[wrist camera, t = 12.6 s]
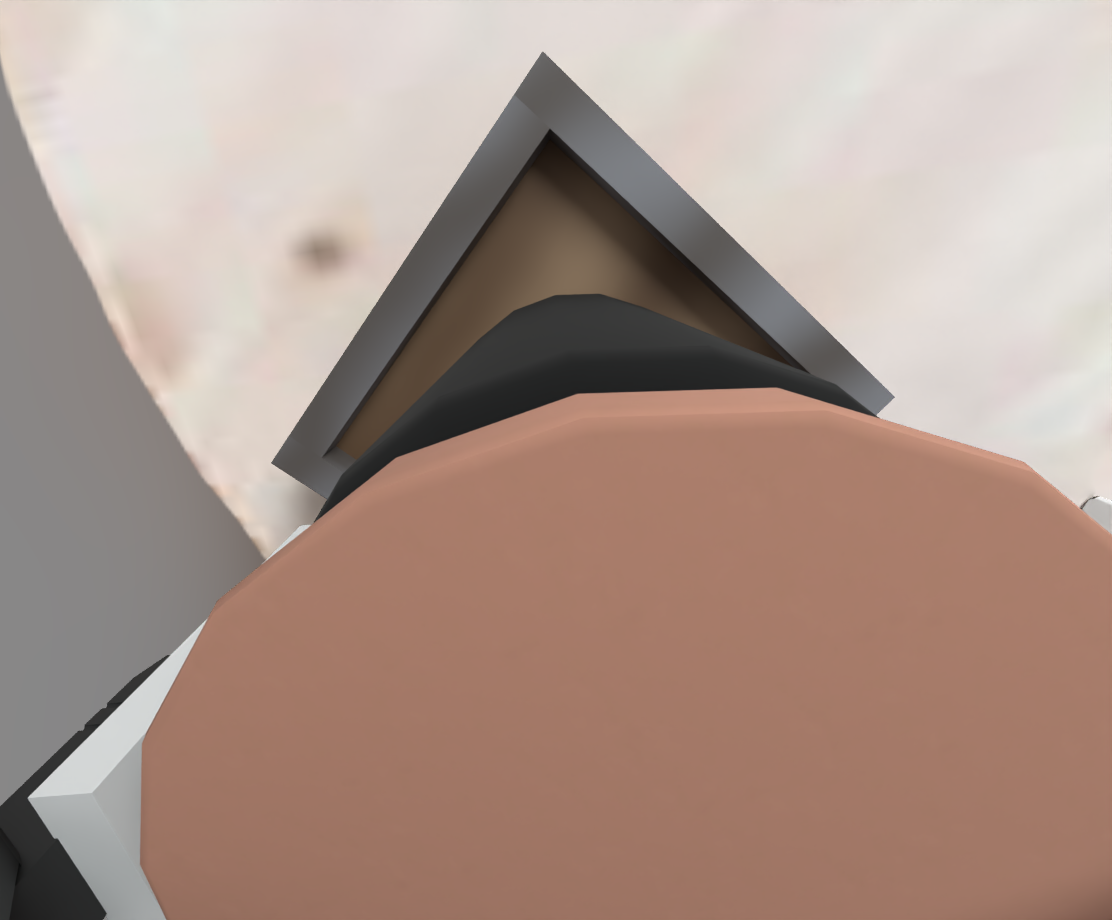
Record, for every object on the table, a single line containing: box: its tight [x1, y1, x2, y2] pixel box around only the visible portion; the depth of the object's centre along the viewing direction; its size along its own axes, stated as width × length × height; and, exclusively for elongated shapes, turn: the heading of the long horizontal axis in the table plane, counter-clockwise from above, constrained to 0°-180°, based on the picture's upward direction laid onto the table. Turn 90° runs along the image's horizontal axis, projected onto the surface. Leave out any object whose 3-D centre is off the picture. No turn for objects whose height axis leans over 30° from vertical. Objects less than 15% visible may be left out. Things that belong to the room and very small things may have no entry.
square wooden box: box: [272, 52, 894, 499], centre depth 24 cm, size 18×18×8 cm
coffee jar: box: [140, 294, 1112, 920], centre depth 14 cm, size 11×11×18 cm
